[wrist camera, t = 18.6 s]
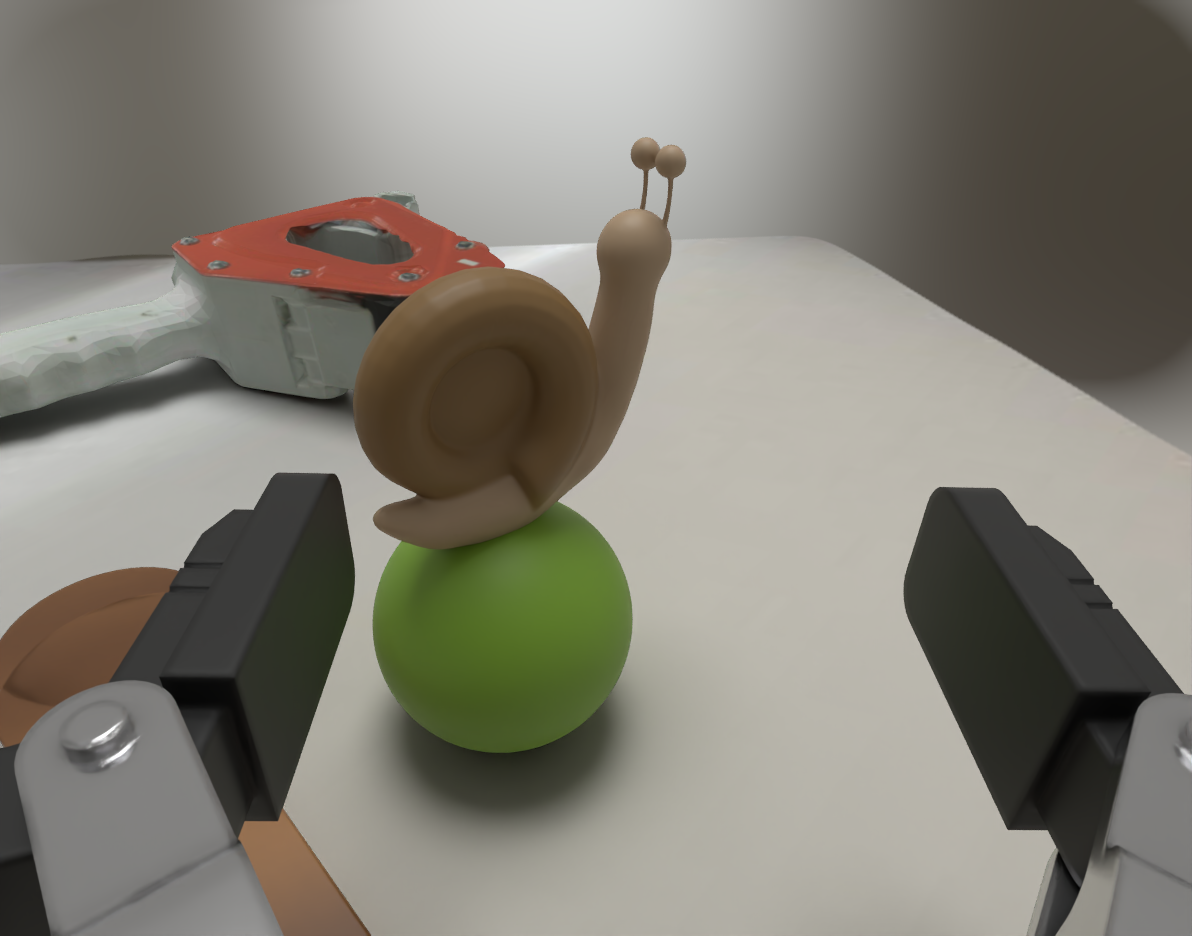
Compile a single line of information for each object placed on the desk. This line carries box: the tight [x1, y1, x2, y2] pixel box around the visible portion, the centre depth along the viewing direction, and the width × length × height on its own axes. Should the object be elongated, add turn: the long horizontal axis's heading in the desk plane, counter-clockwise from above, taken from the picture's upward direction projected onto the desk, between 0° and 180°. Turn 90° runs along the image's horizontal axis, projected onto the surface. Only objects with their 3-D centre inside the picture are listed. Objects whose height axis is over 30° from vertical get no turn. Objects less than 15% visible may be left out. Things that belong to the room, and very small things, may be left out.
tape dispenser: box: [0, 191, 505, 418], centre depth 31 cm, size 18×5×20 cm
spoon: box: [0, 567, 371, 936], centre depth 15 cm, size 20×5×1 cm, turn 44°
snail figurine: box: [353, 137, 686, 753], centre depth 16 cm, size 5×6×12 cm
